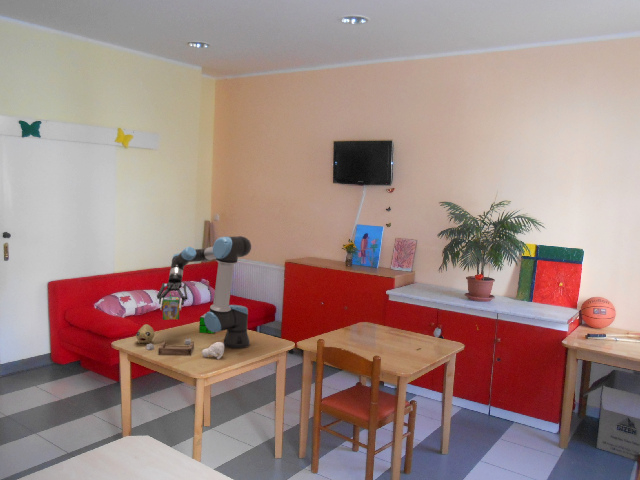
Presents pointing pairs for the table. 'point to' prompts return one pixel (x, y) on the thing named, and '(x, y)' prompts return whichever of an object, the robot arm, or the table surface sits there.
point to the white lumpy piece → (214, 350)
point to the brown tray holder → (175, 349)
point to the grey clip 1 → (149, 347)
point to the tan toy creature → (145, 334)
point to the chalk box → (170, 308)
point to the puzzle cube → (204, 326)
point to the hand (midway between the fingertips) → (170, 308)
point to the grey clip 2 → (187, 341)
